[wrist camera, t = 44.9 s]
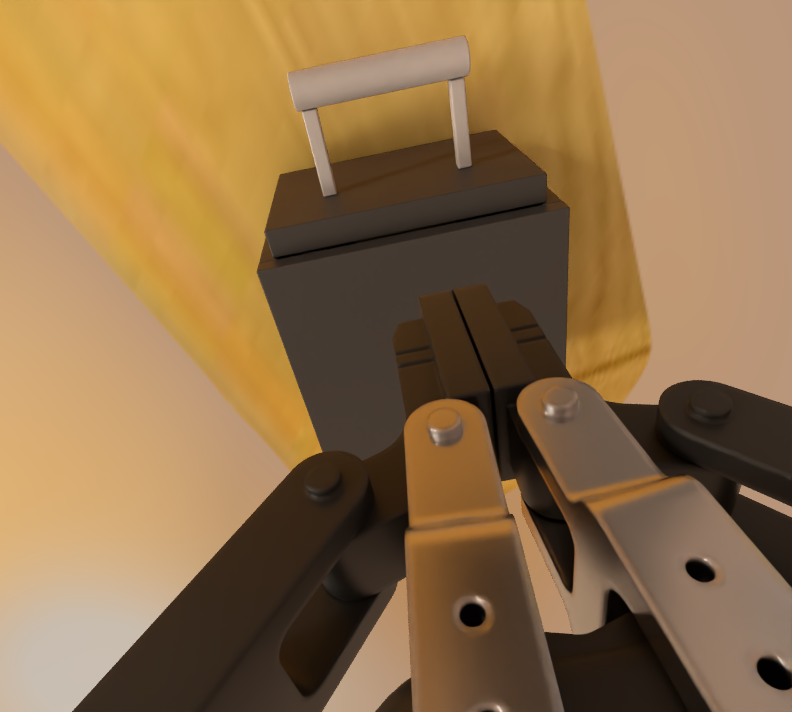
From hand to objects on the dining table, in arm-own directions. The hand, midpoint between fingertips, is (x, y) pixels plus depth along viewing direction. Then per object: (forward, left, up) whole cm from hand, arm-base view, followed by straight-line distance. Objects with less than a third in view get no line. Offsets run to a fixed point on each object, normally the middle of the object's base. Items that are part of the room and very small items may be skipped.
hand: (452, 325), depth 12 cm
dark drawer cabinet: (+9, 0, -19) cm, 21 cm away
